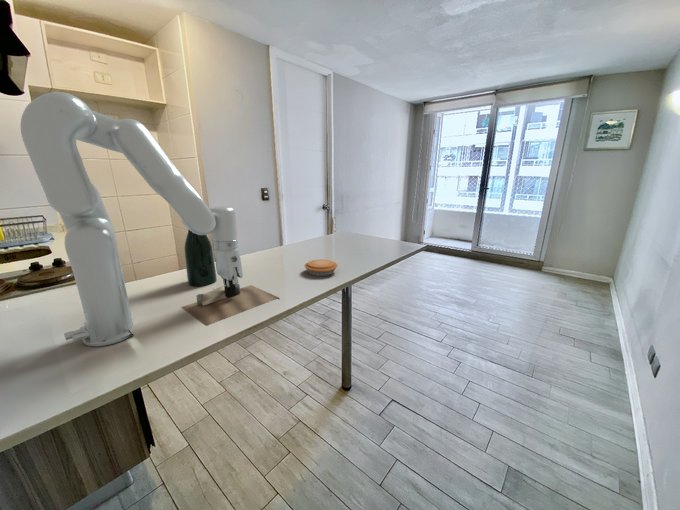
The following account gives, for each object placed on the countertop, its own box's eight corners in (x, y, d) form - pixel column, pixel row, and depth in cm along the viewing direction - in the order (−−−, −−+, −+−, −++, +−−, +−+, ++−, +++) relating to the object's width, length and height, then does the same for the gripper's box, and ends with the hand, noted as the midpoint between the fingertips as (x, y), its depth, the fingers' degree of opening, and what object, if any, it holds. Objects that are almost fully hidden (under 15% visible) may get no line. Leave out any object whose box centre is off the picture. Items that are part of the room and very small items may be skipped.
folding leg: (200, 306, 91) (198, 297, 90) (195, 304, 93) (194, 294, 92) (241, 292, 102) (241, 284, 101) (237, 290, 104) (236, 282, 103)
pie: (300, 269, 134) (299, 259, 133) (329, 265, 141) (329, 256, 139) (310, 280, 121) (310, 269, 120) (343, 275, 127) (343, 264, 126)
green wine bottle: (205, 279, 120) (195, 201, 111) (222, 283, 116) (214, 202, 107) (182, 287, 111) (170, 203, 102) (201, 292, 107) (189, 205, 98)
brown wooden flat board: (206, 330, 80) (204, 316, 79) (181, 311, 92) (179, 298, 90) (279, 301, 99) (279, 289, 98) (251, 288, 111) (250, 278, 109)
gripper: (247, 246, 90) (252, 299, 95) (226, 239, 99) (230, 287, 104) (225, 251, 84) (230, 306, 89) (204, 243, 94) (210, 293, 99)
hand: (230, 296), depth 97 cm, fingers closed
